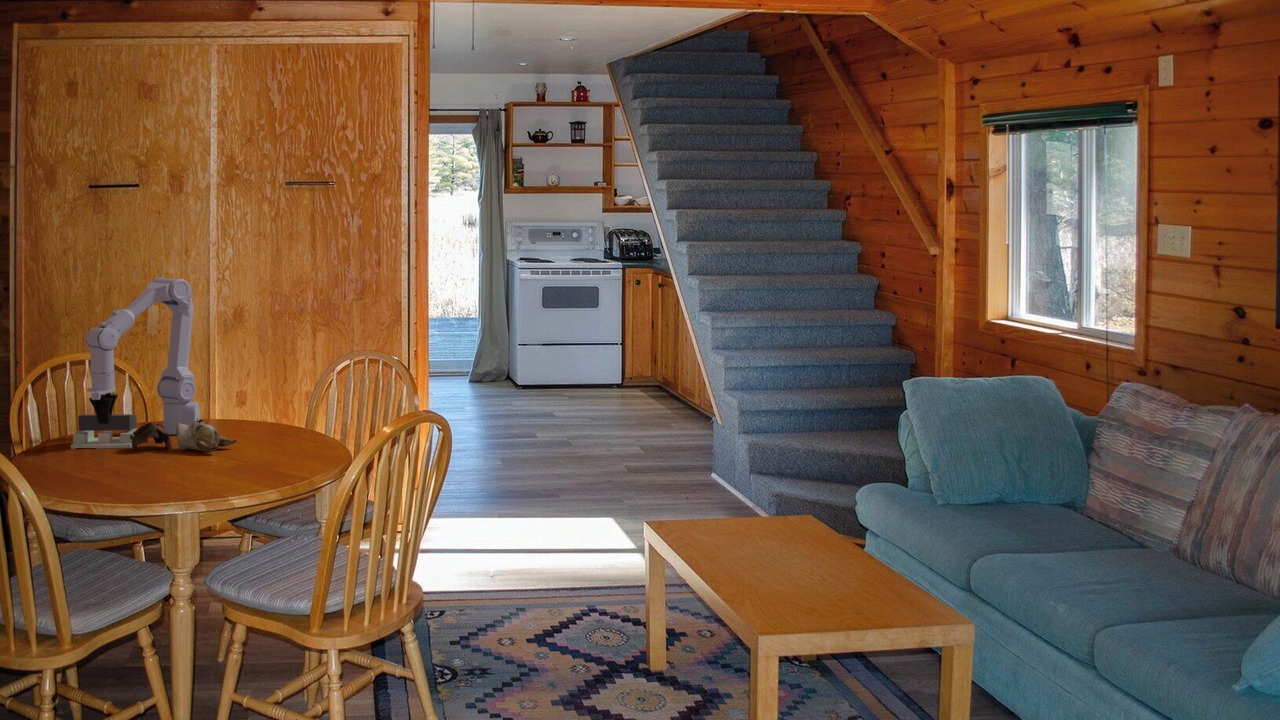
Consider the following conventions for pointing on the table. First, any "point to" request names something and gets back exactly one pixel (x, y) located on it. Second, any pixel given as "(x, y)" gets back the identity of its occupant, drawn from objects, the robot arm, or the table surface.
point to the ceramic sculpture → (200, 437)
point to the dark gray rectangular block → (113, 423)
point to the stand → (102, 440)
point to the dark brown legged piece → (151, 435)
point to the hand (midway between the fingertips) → (104, 422)
